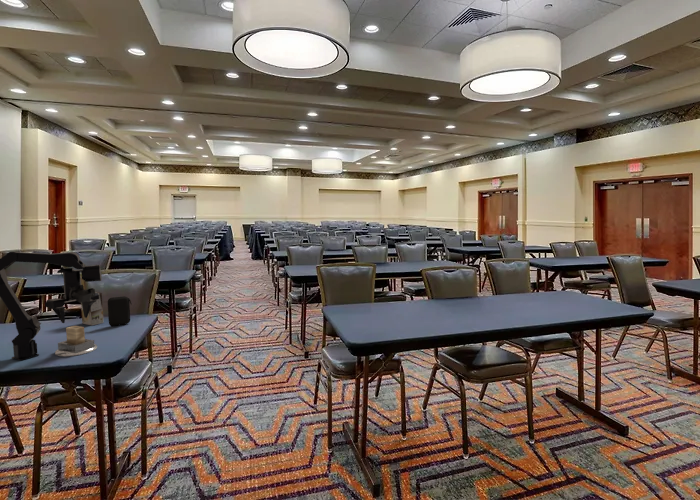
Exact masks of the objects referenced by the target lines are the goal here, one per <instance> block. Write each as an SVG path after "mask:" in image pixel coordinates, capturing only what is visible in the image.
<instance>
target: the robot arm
mask: <svg viewBox="0 0 700 500" xmlns="http://www.w3.org/2000/svg"><path fill="white" fill-rule="evenodd" d="M17 262H19V263H37V264H38V263H39V264H51V265H52V264H53V265H56V266H60V268H59V269H58V270H57V271H56V273H58V274H63V285H62V286H61V289H63V291H64V295H62V298H50V299H47V300H46V301H45V303H44V304H45V305H44V308H49V309H51V310H52V311H53V312H54V313H55V314H56V316H57V317H58V319H59V321H60V322H61V323H62V324H65V322H66V318H65V317H66V316H65V309H66V306H65V304H71V303H75V302H77V303H80V304H81V303H82V307H83V313H84V317H85V318H87V316H88V313H89V310H90V308H91V306H92V304H93V303H94V302H96V301H97V299H100V298H99V294H98V293H95V292H96V289H95V288H87V289H85V288H84V284H82V281H81V280H83V281H84V282H85V283H88V282H89V283H90V282H91V283H92V282H102V278H103V277H102V276H103V275H102V271H101V265H100V264H95V265H86V264H85V263H84V262H83V261H82V260H81V258H80V255H79V254H78V253H77V252H75V251H68V252H57V253H48V252H47V253H46V252H44V253H43V252H42V253H41V252H26V251H25V252H24V251H17V250H13V251H8V252H7V253H6V254H4V255H3V256H2V257H0V299H1V301H2V302H3V304H4V306H5V307H6V308H7V310H8V312H9V313H10V315H11V316H12V318H13V320H14V323H15V327H16V328H15V329H16V331H17V335H16V336H15V337H14V338H13V339H11V343H12V349H13V350H12V351H13V356H12V357H11V359H13V360H17V361H24V360H28V359H30V358H35V357H38V356H39V355H40V354H39V353H38V344H37V342H36V339H35V338H36V336H37V335H38V333H40V331H41V324H42V322H40V321H39V320H38V318H37V315H34V316H31V315H29V314H28V312H27V311H26V310H25V308H24V306H23V304H22V303H21V301H20V299H19V298H18V297H17V295H16V293H15V292H14V290H13V288H12V287H11V285H10V284H9V280H8V277H7V272H6V269H8V268H9V267H11V266H12V265H13V264H14V263H17Z"/></svg>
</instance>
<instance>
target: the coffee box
mask: <svg viewBox="0 0 700 500" xmlns="http://www.w3.org/2000/svg"><path fill="white" fill-rule="evenodd" d="M95 293H98V294H99V298H100V299H97V301H96V302H94V303H93V304H92V306H91V308H90V310H89V313H88V316H87V318H85V317H84V313H83V307H82V303H80V308H81V309H80V310H81V324H84V325H89V326H96V325H99V324H103V323H104V311H103V310H104V309H103V306H104V305H103V295H102V294H103V293H102V292H97V291H95Z"/></svg>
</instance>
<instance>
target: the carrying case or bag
mask: <svg viewBox="0 0 700 500" xmlns="http://www.w3.org/2000/svg"><path fill="white" fill-rule="evenodd" d="M130 305H131V306H132V300H131V299H130V298H129V297H128V296H127V295H122V296H115V297H114V296H113V297H109V298H108V299H107V316H108V317H107V318H108V325H109V326H111V327H118V326H124V325H128V324H129V323H130V321H131V308H130Z"/></svg>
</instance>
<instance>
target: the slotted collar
mask: <svg viewBox="0 0 700 500" xmlns="http://www.w3.org/2000/svg"><path fill="white" fill-rule="evenodd" d="M97 349H98V345H97V344H95V339H94V340H93V339H89V338H85V342H83V343H80V344H77V345H76V344H70V343H67V339H66V340H63V341H59V342H57V349H56V351H54V354H55V356H57V357H64V358H65V357H74V356H81V355H85V354H89V353H91V352H94V351H96V350H97Z"/></svg>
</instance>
